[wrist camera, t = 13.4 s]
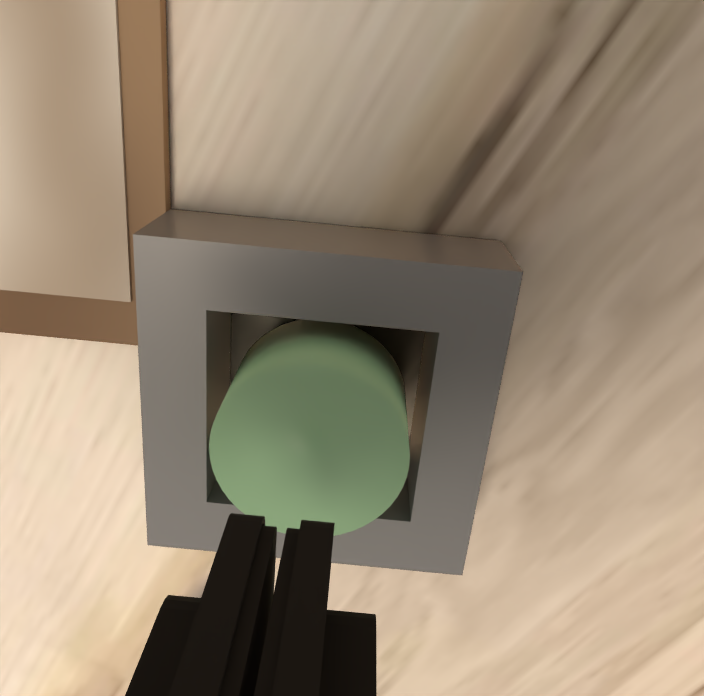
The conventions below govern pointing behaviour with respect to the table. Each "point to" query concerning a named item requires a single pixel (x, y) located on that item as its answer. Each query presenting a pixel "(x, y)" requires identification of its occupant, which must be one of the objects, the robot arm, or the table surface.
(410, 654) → the table surface
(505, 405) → the table surface
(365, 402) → the button
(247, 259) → the button housing
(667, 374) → the table surface
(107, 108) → the brown bordered board
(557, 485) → the table surface
